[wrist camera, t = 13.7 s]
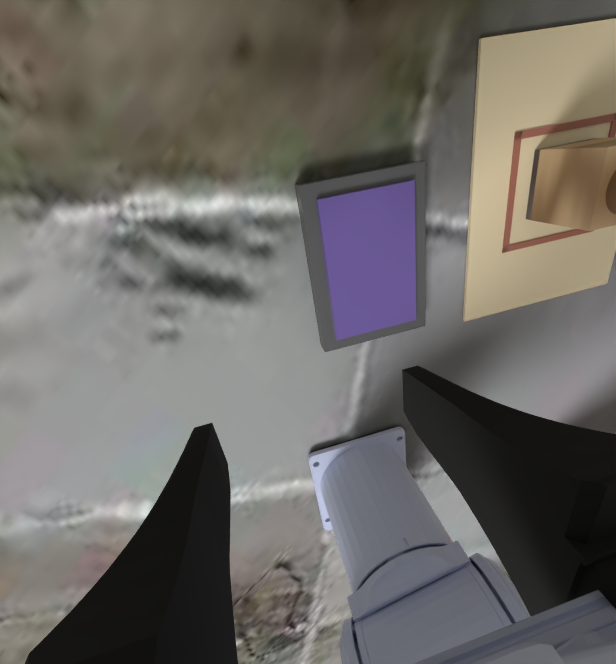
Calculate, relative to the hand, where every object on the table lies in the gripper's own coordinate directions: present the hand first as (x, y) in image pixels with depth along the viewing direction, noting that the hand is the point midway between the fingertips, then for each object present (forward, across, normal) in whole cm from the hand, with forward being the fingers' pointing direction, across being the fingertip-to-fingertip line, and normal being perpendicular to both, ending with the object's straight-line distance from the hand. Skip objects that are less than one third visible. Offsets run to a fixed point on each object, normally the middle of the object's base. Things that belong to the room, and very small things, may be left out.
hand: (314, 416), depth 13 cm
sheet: (+10, -19, -4) cm, 22 cm away
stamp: (+10, -19, -4) cm, 22 cm away
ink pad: (+10, -6, -2) cm, 12 cm away
